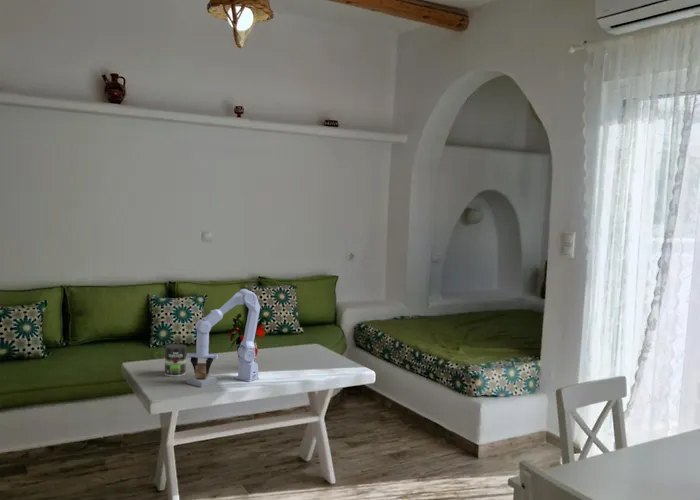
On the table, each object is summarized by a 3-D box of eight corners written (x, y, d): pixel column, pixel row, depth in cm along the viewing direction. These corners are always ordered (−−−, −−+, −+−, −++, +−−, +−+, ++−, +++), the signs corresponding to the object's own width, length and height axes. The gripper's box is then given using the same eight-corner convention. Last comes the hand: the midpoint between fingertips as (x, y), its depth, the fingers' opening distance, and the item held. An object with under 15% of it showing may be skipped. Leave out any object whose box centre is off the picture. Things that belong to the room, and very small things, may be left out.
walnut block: (208, 375, 293) (208, 363, 293) (205, 378, 288) (205, 366, 288) (197, 375, 294) (198, 362, 293) (195, 378, 289) (195, 365, 288)
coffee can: (185, 376, 300) (186, 348, 298) (164, 377, 297) (164, 348, 296) (185, 370, 309) (186, 343, 308) (164, 371, 307) (165, 343, 305)
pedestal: (216, 382, 293) (216, 377, 293) (201, 387, 284) (201, 382, 284) (201, 378, 298) (201, 373, 298) (186, 383, 289) (186, 378, 289)
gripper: (219, 344, 293) (218, 371, 295) (189, 342, 294) (189, 370, 295) (216, 347, 286) (215, 375, 287) (185, 346, 287) (184, 374, 288)
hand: (201, 373), depth 291 cm, fingers closed on walnut block, 5 cm apart
